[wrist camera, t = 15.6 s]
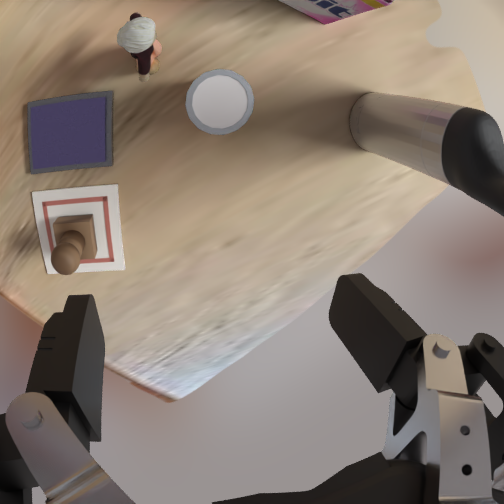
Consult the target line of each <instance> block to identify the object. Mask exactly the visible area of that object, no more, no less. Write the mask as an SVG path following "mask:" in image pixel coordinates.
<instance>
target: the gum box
mask: <svg viewBox="0 0 504 504" xmlns="http://www.w3.org/2000/svg"><path fill="white" fill-rule="evenodd" d="M279 1H281V2H283V3H285V4H287V5H289V6H290V7H292V8H294V9H296V10H298V11H300V12H302V13H305V14H307V15H309V16H311V17H312V18H314V19H316V20H318V21H320V22H321V23H323V24H329V23H332V22H335V21H338V20H341V19H344V18H347V17H350V16H353V15H357V14H360V13H363V12H366V11H370V10H373V9H377V8H380V7H384V6H387V5H390V4H392V3H393V2H394V1H395V0H393V1H392V0H279Z"/></svg>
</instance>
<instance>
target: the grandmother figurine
mask: <svg viewBox="0 0 504 504" xmlns="http://www.w3.org/2000/svg"><path fill="white" fill-rule="evenodd" d="M117 42H118V44H119V45H120V46H121V47H124V48H125V50H127V51H128V52H130V53H131V55H132V57H134V58H135V59H136V62H137V64H136V70H137V71H138V72H139V79H140V81H141V82H146V81H148V80H149V74H154V73H156V72H157V71H158V70H159V66H160V64H159V61H158V60H157V59H155V57H157V56H158V55H159V54H160V53H161V51H162V46H161V44H160V42H159V41H158V40H156V31H155V23H154V21H153V20H151V19H149V18H147V17H142V15H141V14H140V13H138V12H137V13H133V14H132V15H131V16H130V21H129V22H127V23H126V24H125V25H124V26H123V27H122V28H121V29H120V30H119V32H118V34H117Z"/></svg>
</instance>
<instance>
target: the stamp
mask: <svg viewBox="0 0 504 504" xmlns="http://www.w3.org/2000/svg"><path fill="white" fill-rule="evenodd" d="M53 230H54V236H55V241H56V247H55V248H54V249H53V251H52V253H51V263H52V266H53V268H54V269H55V270H56V271H57V272H58V273H60V274H62V275H69V274H72V273H74V272H75V271H76V270H77V269H78V267H79V265H80V260H83V259H95V257H96V254H97V242H96V235H95V227H94V219H93V214H85V215H72V216H60V217H57V219H56V220H55V222H54V223H53Z"/></svg>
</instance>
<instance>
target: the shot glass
mask: <svg viewBox="0 0 504 504" xmlns="http://www.w3.org/2000/svg"><path fill="white" fill-rule="evenodd" d="M253 105H254V96H253V92H252V89H251V86H250V85H249V84H248V82H247V81H246V80H245V79H244V77H243V76H241V75H239V74H237V73H235V72H233V71H232V70H224V69H216V70H212V71H208V72H205V73H203V74H202V75H201V76H199V77H198V78H197V79H196V80H194V81H193V83H192V85H191V86H190V88H189V90H188V92H187V96H186V105H185V106H186V109H187V113H188V116H189V119H190V120H191V121H192V122H193V123H194V124H195V125H196V127H197V128H198V129H201V130H203V131H205V132H207V133H209V134H217V135H224V134H228V133H231V132H234V131H236V130H238V129H239V128H240V127H241V126H243V125H244V124H245V123H246V122H247V120H248V119H249V117H250V115H251V113H252V112H253Z"/></svg>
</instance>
